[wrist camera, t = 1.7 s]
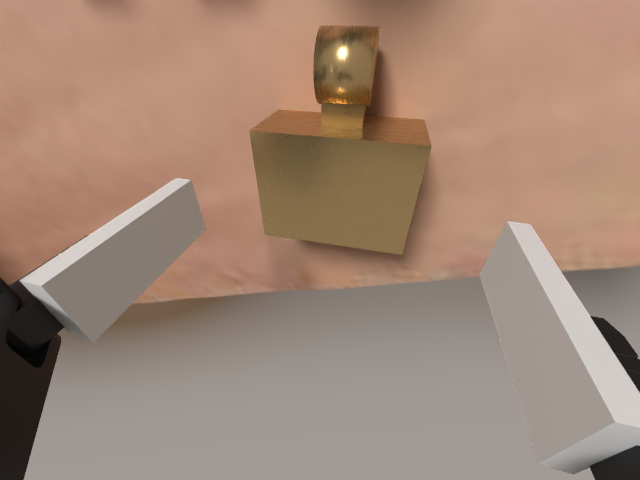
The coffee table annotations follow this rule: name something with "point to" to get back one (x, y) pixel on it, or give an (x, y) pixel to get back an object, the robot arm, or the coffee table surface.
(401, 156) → the gold knuckled block
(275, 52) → the coffee table surface
